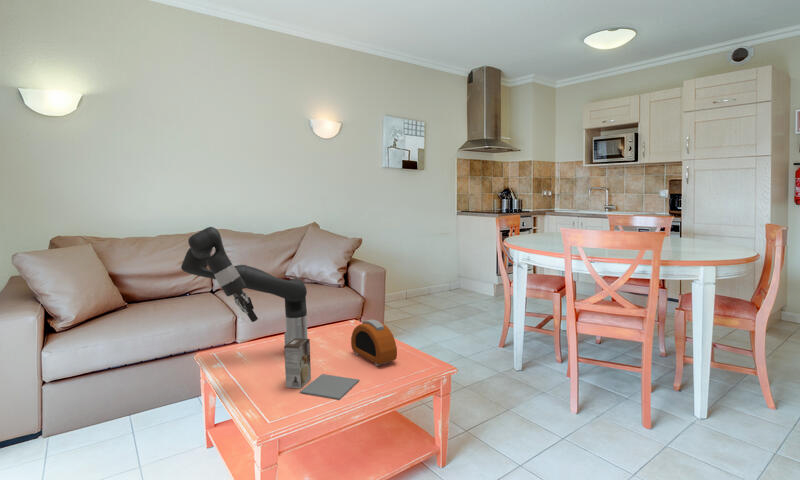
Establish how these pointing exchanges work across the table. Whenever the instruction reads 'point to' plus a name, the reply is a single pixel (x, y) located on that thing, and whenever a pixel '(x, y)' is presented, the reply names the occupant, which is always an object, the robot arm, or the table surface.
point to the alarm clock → (374, 342)
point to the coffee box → (297, 363)
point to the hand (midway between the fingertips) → (255, 320)
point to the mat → (330, 386)
